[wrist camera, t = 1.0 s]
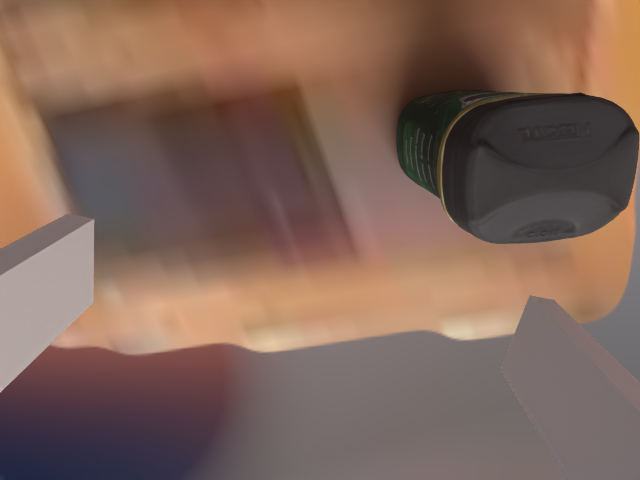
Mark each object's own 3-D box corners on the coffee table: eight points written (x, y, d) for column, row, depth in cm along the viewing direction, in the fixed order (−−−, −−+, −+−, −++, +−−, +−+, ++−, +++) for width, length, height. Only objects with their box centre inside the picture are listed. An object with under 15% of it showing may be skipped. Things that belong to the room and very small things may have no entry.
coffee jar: (396, 186, 40) (456, 264, 23) (393, 96, 37) (457, 105, 20) (502, 176, 40) (646, 247, 22) (506, 85, 37) (673, 83, 20)
